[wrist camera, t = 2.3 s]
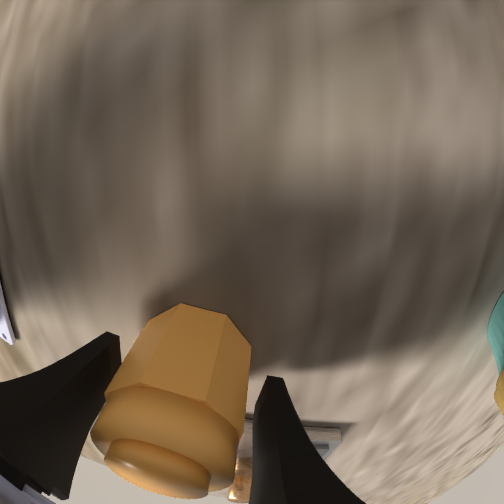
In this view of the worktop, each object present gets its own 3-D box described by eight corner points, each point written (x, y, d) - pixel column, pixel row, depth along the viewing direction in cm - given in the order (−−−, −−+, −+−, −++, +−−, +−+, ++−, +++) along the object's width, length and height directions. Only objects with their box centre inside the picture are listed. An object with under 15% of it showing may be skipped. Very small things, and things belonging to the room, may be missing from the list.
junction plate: (101, 435, 16) (84, 471, 12) (79, 366, 13) (47, 411, 9) (291, 480, 17) (291, 519, 13) (339, 428, 14) (349, 482, 10)
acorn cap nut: (148, 369, 12) (99, 476, 6) (150, 294, 11) (66, 416, 5) (236, 392, 13) (220, 511, 6) (259, 322, 11) (248, 474, 5)
